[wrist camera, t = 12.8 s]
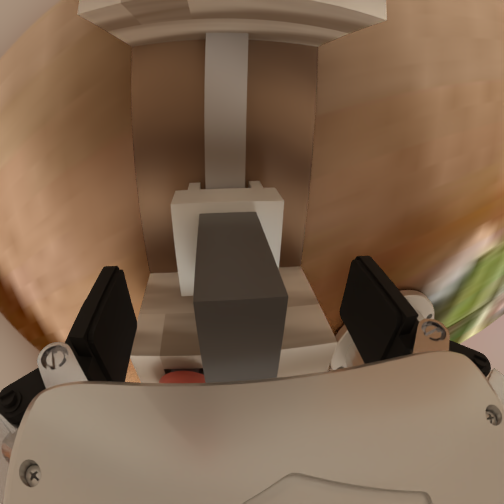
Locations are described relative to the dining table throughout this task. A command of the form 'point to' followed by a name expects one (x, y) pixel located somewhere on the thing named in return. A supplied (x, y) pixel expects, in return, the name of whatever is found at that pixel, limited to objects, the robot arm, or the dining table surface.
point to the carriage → (233, 277)
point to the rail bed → (184, 135)
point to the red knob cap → (183, 376)
